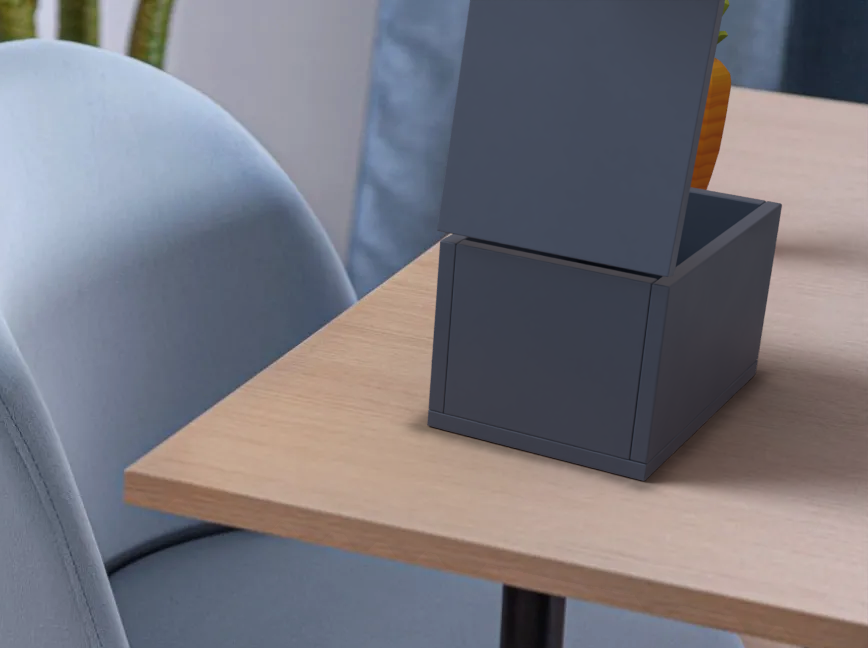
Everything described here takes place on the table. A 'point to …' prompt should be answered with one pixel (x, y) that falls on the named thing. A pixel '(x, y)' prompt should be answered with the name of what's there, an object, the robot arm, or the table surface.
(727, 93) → the carrot
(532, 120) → the lid
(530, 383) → the chest
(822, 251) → the table surface
